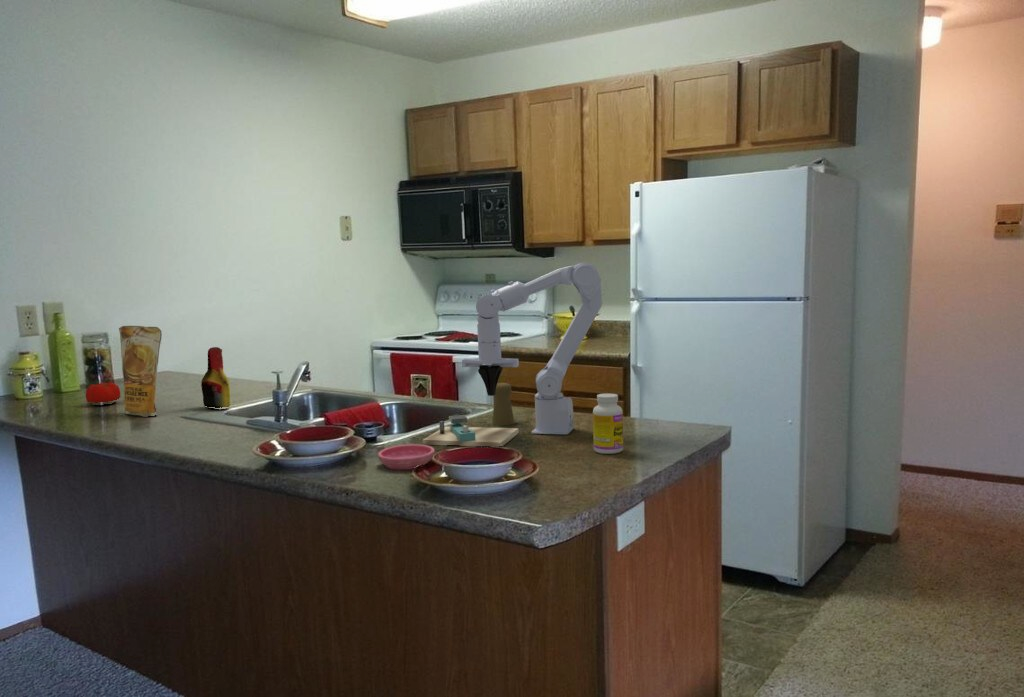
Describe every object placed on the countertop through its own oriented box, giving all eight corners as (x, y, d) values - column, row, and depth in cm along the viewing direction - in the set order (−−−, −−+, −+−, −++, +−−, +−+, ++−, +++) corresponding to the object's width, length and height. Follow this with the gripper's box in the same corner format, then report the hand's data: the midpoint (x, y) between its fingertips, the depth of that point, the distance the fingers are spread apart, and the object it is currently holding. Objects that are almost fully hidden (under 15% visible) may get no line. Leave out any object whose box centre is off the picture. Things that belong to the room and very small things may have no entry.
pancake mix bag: (136, 410, 249) (128, 324, 245) (171, 414, 238) (163, 325, 235) (116, 414, 243) (108, 326, 240) (151, 418, 233) (142, 327, 229)
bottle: (237, 408, 244) (232, 346, 242) (219, 412, 239) (213, 349, 237) (217, 405, 252) (212, 345, 249) (199, 409, 247) (193, 347, 244)
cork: (511, 425, 203) (510, 385, 202) (489, 425, 204) (488, 385, 203) (516, 420, 209) (514, 381, 208) (494, 420, 210) (493, 381, 209)
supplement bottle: (615, 456, 168) (614, 398, 166) (588, 453, 171) (587, 396, 170) (628, 449, 173) (626, 393, 172) (601, 446, 177) (600, 391, 175)
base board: (518, 433, 194) (518, 428, 194) (501, 447, 180) (500, 442, 180) (445, 430, 200) (445, 426, 200) (422, 444, 185) (422, 439, 185)
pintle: (469, 438, 185) (469, 425, 184) (467, 439, 183) (467, 426, 183) (464, 438, 185) (463, 425, 185) (462, 439, 184) (461, 426, 183)
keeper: (468, 435, 193) (467, 418, 192) (440, 438, 191) (439, 420, 191) (464, 431, 198) (463, 414, 198) (437, 433, 197) (436, 416, 196)
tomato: (98, 408, 255) (95, 386, 254) (80, 406, 261) (78, 384, 260) (128, 403, 264) (126, 381, 263) (111, 401, 270) (109, 380, 269)
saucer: (404, 475, 160) (403, 460, 159) (366, 467, 168) (366, 453, 167) (447, 462, 169) (446, 448, 169) (409, 454, 177) (408, 441, 177)
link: (475, 439, 183) (475, 432, 183) (460, 441, 182) (459, 434, 182) (463, 429, 195) (462, 422, 195) (448, 430, 194) (448, 423, 194)
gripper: (521, 340, 194) (523, 392, 195) (467, 340, 198) (470, 391, 200) (513, 343, 187) (515, 397, 189) (458, 343, 191) (460, 396, 193)
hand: (491, 395), depth 194 cm, fingers closed
